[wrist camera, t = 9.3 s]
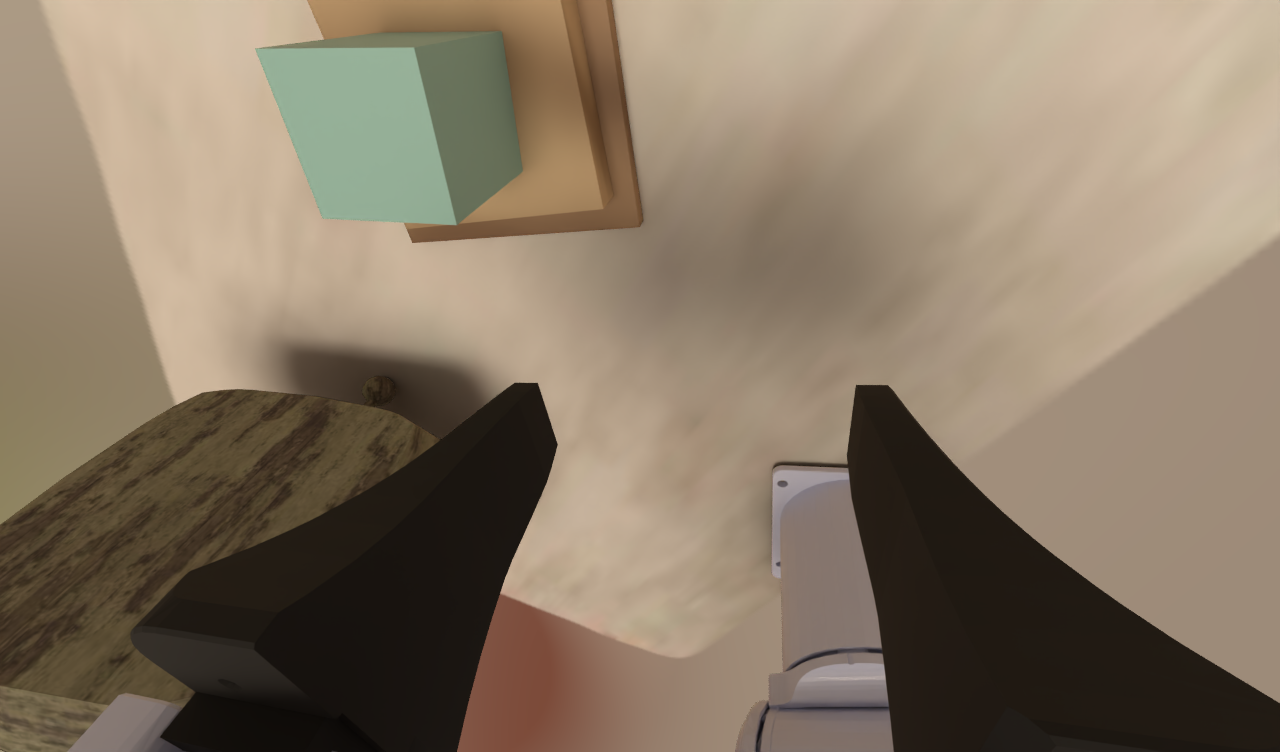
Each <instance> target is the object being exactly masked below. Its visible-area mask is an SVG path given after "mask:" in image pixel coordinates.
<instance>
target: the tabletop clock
mask: <svg viewBox="0 0 1280 752" xmlns="http://www.w3.org/2000/svg"><path fill="white" fill-rule="evenodd" d="M395 393H396V390H395V387H394V385H393V383H392V381H391V380H390V379H388V378H386V377H383V376H376V377H373V378H370V379H368V380H367V382H366V383H365V385H364V386H363V389H362V394H363V396H364V397H365V399H366V403H365V404H364V405H360V404H354V403H349V402H344V401H338V400H333V399H328V398H322V397H317V396H307V395H297V394H287V393H277V392H267V391H258V390H243V389H235V390H220V391H212V392H205V393H201V394H199V395H197V396H195V397H193V398H190V399H188V400H186V401H184V402H182V403H180V404H178V405H176V406H174V407H172V408H170V409H169V410H167V411H165V412H163V413H162V414H160V415H158V416H157V417H155V418H153V419H152V420H150V421H148V422H146V423H145V424H143V425H142V426H140V427H139V428H137V429H136V430H134V431H133V432H131V433H130V434H128V435H127V436H125V437H124V438H122V439H121V440H119V441H118V442H116V443H115V444H113V445H112V446H110V447H109V448H107V449H106V450H104V451H103V452H102V453H100V454H98V455H97V456H95V457H94V458H93V459H91V460H89V461H88V462H87V463H85V464H84V465H82V466H80V467H79V468H78V469H76V470H75V471H73V472H72V473H70V474H69V475H67V476H66V477H64V478H63V479H61V480H60V481H59V482H57V483H56V484H54V485H53V486H52V487H50V488H49V489H48V490H46V491H45V492H44V493H42V494H41V495H40V496H38V497H37V498H36V499H35V500H33V501H32V502H30V503H29V504H28V505H26V506H25V507H24V508H22V509H21V510H20V511H18V512H17V513H15V514H14V515H13V516H12V517H10V518H9V519H8V520H6V521H5V522H3V523H2V524H1V525H0V750H2V751H4V752H67V751H68V750H69V749H70V748H71V747H72V746H73V745H74V744H75V743H76V741H77V740H78V739H79V738H80V737H81V736H82V735H83V734H84V733H85V732H86V730H87V729H88V728H89V727H90V726H91V725H92V724H93V723H94V722H95V721H96V719H97V718H98V717H99V716H100V715H101V714H102V713H103V712H104V711H105V710H106V709H107V707H108V706H109V705H110V704H111V703H112V702H113V701H114V700H115V699H116V698H117V696H118V695H120V694H124V693H129V694H134V695H139V696H144V697H149V698H154V699H158V700H163V701H167V702H170V703H173V704H175V705H178V706H180V707H182V708H183V707H184V706H185V705H186V704H187V702H188V701H189V700H190V699H191V697H192V696H193V695H194V694H195V693H196V692H195V691H193V690H192V689H190V688H189V687H188V686H186V685H185V684H183V683H182V682H180V681H179V680H177V679H176V678H175V677H173V676H172V675H170V674H169V673H167V672H166V671H164V670H163V669H162V668H160V667H159V666H157V665H156V664H154V663H153V662H152V661H150V660H149V659H148V658H146V657H145V656H144V655H143V654H141V653H140V652H139V651H138V650H137V649H136V648H135V646H134V645H133V644H132V641H131V638H130V632H131V631H132V629H133V628H134V627H135V626H136V625H137V624H138V623H139V622H140V621H141V620H142V619H143V618H144V617H145V616H146V615H147V614H148V612H149V611H150V610H151V609H152V608H153V607H154V606H155V605H156V604H157V603H158V602H159V601H160V600H161V599H162V598H163V597H164V596H165V595H166V594H167V593H168V592H169V591H170V590H171V589H172V588H173V587H174V586H175V585H176V584H177V583H178V582H179V581H180V580H181V579H182V578H183V577H184V576H185V575H186V574H187V573H188V572H189V571H191V570H194V569H197V568H199V567H202V566H205V565H207V564H210V563H212V562H215V561H217V560H220V559H222V558H225V557H227V556H230V555H233V554H235V553H238V552H240V551H243V550H245V549H248V548H250V547H253V546H255V545H257V544H260V543H262V542H264V541H267V540H269V539H271V538H273V537H276V536H278V535H280V534H282V533H284V532H287V531H289V530H291V529H293V528H295V527H297V526H299V525H301V524H304V523H306V522H308V521H310V520H312V519H314V518H316V517H318V516H320V515H322V514H323V513H325V512H327V511H329V510H331V509H333V508H335V507H336V506H338V505H340V504H342V503H344V502H346V501H348V500H349V499H351V498H353V497H355V496H357V495H359V494H360V493H362V492H364V491H366V490H367V489H369V488H371V487H372V486H374V485H376V484H377V483H379V482H380V481H382V480H384V479H385V478H387V477H388V476H390V475H392V474H393V473H395V472H396V471H398V470H399V469H401V468H402V467H404V466H405V465H407V464H408V463H410V462H411V461H413V460H414V459H415V458H417V457H418V456H419V455H421V454H422V453H424V452H425V451H426V450H428V449H429V448H430V447H432V446H433V445H435V444H436V443H437V442H439V441H440V439H438V438H437V437H435V436H433V435H432V434H430V433H429V432H427V431H425V430H424V429H422V428H420V427H419V426H417V425H416V424H414V423H412V422H411V421H409V420H407V419H406V418H404V417H403V416H401V415H399V414H396V413H394V412H391V411H388V410H384V409H380V408H375V407H376V406H383V405H385V404H388V403H390V401H391V400H392V399H393V397H394V396H395Z"/></svg>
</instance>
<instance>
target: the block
mask: <svg viewBox="0 0 1280 752" xmlns="http://www.w3.org/2000/svg"><path fill="white" fill-rule="evenodd" d="M255 50H256V52H257V55H258V57H259V60H260V62H261V65H262V67H263V70H264V72H265V75H266V77H267V80H268V82H269V85H270V87H271V90H272V92H273V95H274V97H275V100H276V102H277V105H278V107H279V110H280V112H281V115H282V118H283V120H284V123H285V125H286V128H287V130H288V133H289V135H290V138H291V140H292V143H293V145H294V148H295V150H296V153H297V155H298V158H299V160H300V163H301V165H302V168H303V170H304V173H305V175H306V178H307V180H308V183H309V185H310V188H311V190H312V193H313V195H314V198H315V200H316V203H317V205H318V208H319V210H320V213H321V216H322V218H323V219H341V220H361V221H382V222H402V223H423V224H443V225H457V224H459V223H460V222H461V221H462V220H464V219H465V218H466V217H467V216H469V215H470V214H471V213H472V212H474V211H475V210H476V209H477V208H479V207H480V206H481V205H482V204H483V203H485V202H486V201H487V200H488V199H490V198H491V197H492V196H493V195H495V194H496V193H497V192H498V191H500V190H501V189H502V188H503V187H504V186H506V185H507V184H508V183H509V182H511V181H512V180H513V179H514V178H516V177H517V176H518V175H519V174H521V173H522V172H523V168H522V162H521V155H520V148H519V142H518V135H517V129H516V122H515V115H514V109H513V102H512V96H511V89H510V82H509V76H508V69H507V62H506V56H505V49H504V43H503V36H502V31H473V32H391V33H372V34H365V35H357V36H349V37H341V38H334V39H326V40H318V41H311V42H303V43H295V44H287V45H280V46H272V47H264V48H256V49H255Z"/></svg>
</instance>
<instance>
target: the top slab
mask: <svg viewBox="0 0 1280 752" xmlns="http://www.w3.org/2000/svg"><path fill="white" fill-rule="evenodd" d="M307 1H308V3H309V5H310V8H311V10H312V12H313V15H314V17H315V19H316V22H317V24H318V26H319V28H320V31H321V33H322V35H323V38H324V40H326V39H334V38H341V37H349V36H357V35H365V34H372V33H391V32H473V31H502V36H503V43H504V49H505V56H506V62H507V69H508V76H509V82H510V89H511V96H512V102H513V109H514V115H515V122H516V129H517V135H518V142H519V148H520V155H521V162H522V168H523V172H522V173H521V174H519V175H518V176H517V177H516V178H514V179H513V180H512V181H511V182H509V183H508V184H507V185H506V186H504V187H503V188H502V189H501V190H500V191H498V192H497V193H496V194H495V195H493V196H492V197H491V198H490V199H488V200H487V201H486V202H485V203H483V204H482V205H481V206H480V207H479V208H477V209H476V210H475V211H474V212H472V213H471V214H470V215H469V216H467V217H466V218H465V219H464V220H462V221H461V222H460V223H459V224H462V223H471V222H481V221H491V220H501V219H511V218H520V217H530V216H540V215H550V214H560V213H569V212H579V211H589V210H599V209H604V207H605V206H606V205H607V203H608V202H609V201H610V199H611V198H612V197H613V190H612V184H611V179H610V174H609V169H608V163H607V158H606V153H605V148H604V142H603V137H602V132H601V127H600V121H599V116H598V111H597V106H596V100H595V95H594V90H593V85H592V79H591V74H590V69H589V64H588V58H587V53H586V48H585V43H584V37H583V32H582V27H581V22H580V16H579V11H578V6H577V1H576V0H307ZM404 224H405V226H406V228H407V229H413V228H423V227H432V226H442V225H443V224H423V223H404Z"/></svg>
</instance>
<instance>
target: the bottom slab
mask: <svg viewBox="0 0 1280 752" xmlns="http://www.w3.org/2000/svg"><path fill="white" fill-rule="evenodd" d="M576 1H577V6H578V11H579V16H580V22H581V27H582V32H583V37H584V43H585V48H586V53H587V58H588V64H589V69H590V74H591V79H592V85H593V90H594V95H595V100H596V106H597V111H598V116H599V121H600V127H601V132H602V137H603V142H604V148H605V153H606V158H607V163H608V169H609V174H610V179H611V184H612V190H613V197H612V198H611V199H610V201H609V202H608V203H607V205H606V206H605V207H604V209H599V210H589V211H579V212H569V213H560V214H550V215H540V216H530V217H520V218H511V219H501V220H491V221H481V222H471V223H462V224H457V225H442V226H432V227H423V228H413V229H407V228H406V229H407V231H408V233H409V236H410V238H411V240H412V243H418V242H433V241H447V240H461V239H476V238H490V237H504V236H519V235H533V234H547V233H561V232H576V231H590V230H604V229H619V228H633V227H640V225H641V223H642V221H643V216H642V209H641V202H640V195H639V188H638V181H637V174H636V167H635V160H634V153H633V146H632V139H631V132H630V125H629V118H628V111H627V104H626V97H625V90H624V83H623V76H622V69H621V62H620V55H619V48H618V41H617V34H616V27H615V20H614V13H613V6H612V0H576Z"/></svg>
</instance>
